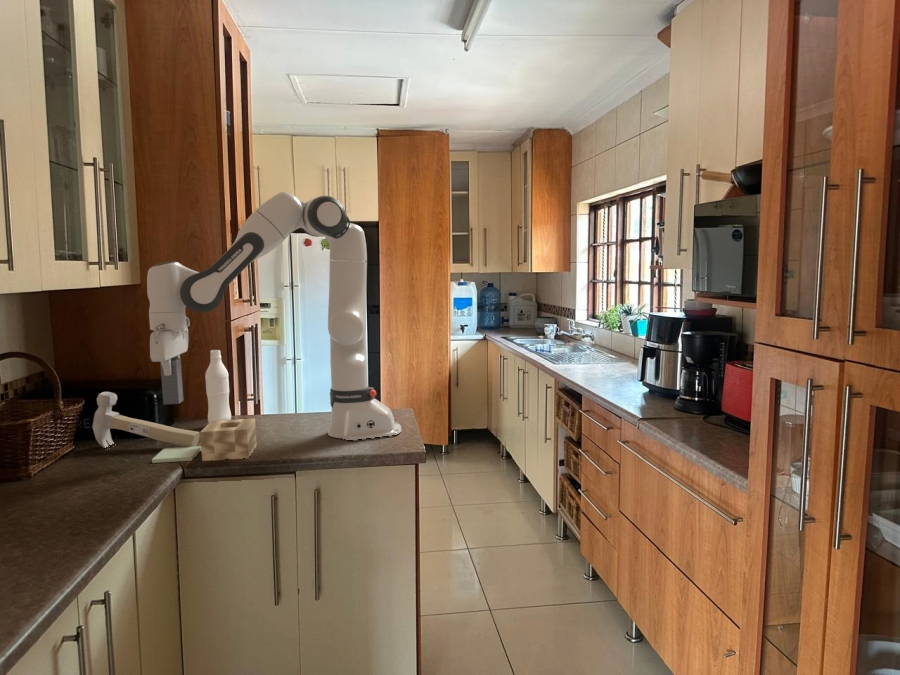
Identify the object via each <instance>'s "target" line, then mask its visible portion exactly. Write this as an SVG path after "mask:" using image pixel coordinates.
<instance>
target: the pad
mask: <svg viewBox="0 0 900 675" xmlns="http://www.w3.org/2000/svg"><path fill="white" fill-rule="evenodd" d="M200 452H202V451H201V445H197V446H194V447H184V446H179V447H164V448H163V449H162V450H161V451H159V452H158V453H157V454H156V455H155V456H154V457H152V459H151V463H152V464H155V463H156V464H157V463H159V464H160V463H172V462H175V463H176V462H188V461H190V462H191V461H193V459H194V458H195V457H196V456H197V455H198V454H199V453H200Z"/></svg>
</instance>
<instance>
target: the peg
mask: <svg viewBox="0 0 900 675" xmlns="http://www.w3.org/2000/svg"><path fill="white" fill-rule="evenodd" d="M181 358H182V357H180V358H171V362H170V364H171V368H172V372H173V373H172V374H171V375H167V376H165V375H164V370H163V367H162V365H161V362H160V363H159V364H160V376H161V378H160V379H161V389H162V390H161V391H162V402H163V403H162V404H163V405H179V404H180V403H182V402H184V390H183V388H184V387H183V377H182V376H183V374H182V360H181Z"/></svg>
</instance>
